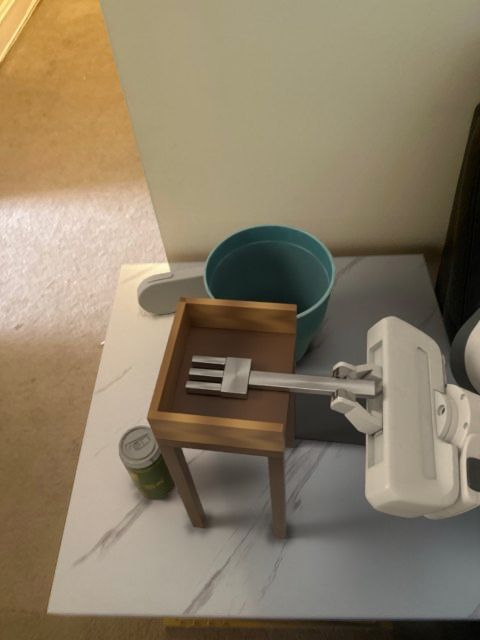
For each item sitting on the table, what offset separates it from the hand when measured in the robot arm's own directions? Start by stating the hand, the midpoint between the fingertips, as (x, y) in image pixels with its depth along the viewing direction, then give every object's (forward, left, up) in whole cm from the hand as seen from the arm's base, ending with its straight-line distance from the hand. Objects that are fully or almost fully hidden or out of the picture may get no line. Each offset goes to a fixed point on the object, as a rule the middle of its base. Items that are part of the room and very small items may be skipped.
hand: (334, 384), depth 53 cm
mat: (+10, -7, -27) cm, 30 cm away
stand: (+6, +8, -27) cm, 29 cm away
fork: (+3, +4, -1) cm, 5 cm away
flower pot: (+24, -6, -27) cm, 37 cm away
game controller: (+37, +1, -27) cm, 46 cm away
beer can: (+11, +19, -27) cm, 35 cm away
